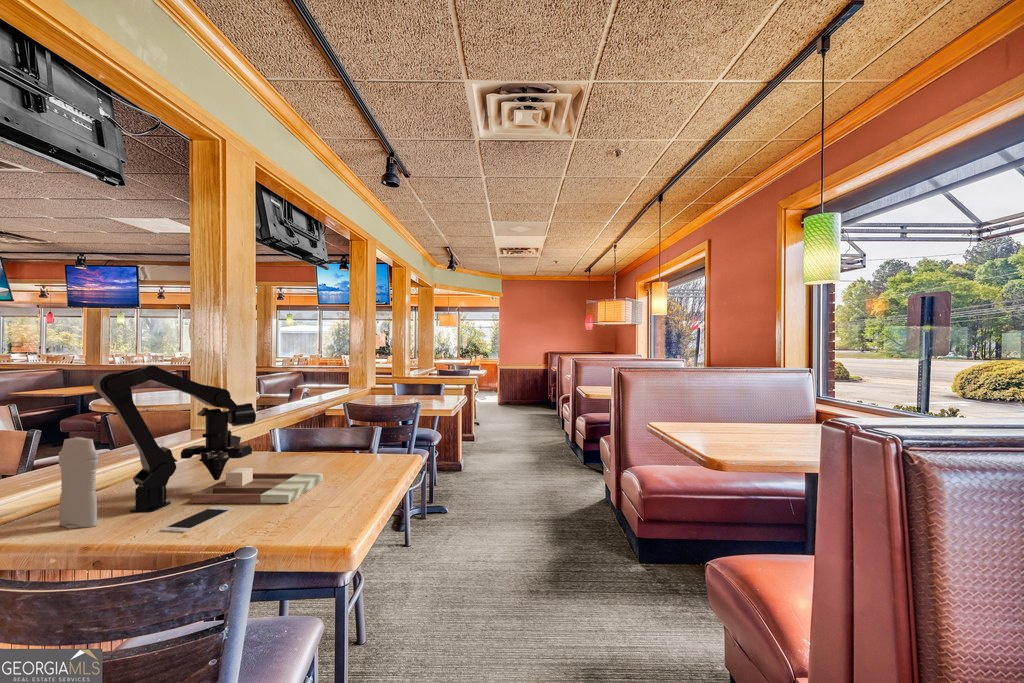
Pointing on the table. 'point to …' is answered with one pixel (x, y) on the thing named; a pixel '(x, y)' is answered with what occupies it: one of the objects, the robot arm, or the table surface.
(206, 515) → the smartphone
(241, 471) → the block
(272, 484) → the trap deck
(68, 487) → the tall pale column
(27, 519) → the table surface
